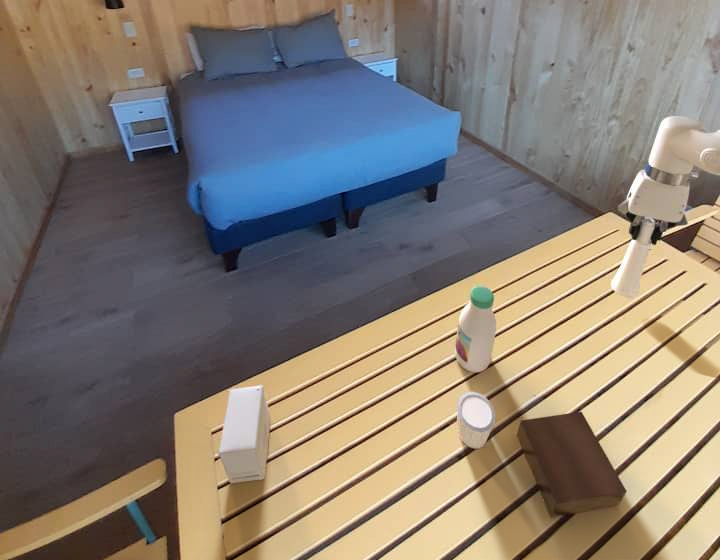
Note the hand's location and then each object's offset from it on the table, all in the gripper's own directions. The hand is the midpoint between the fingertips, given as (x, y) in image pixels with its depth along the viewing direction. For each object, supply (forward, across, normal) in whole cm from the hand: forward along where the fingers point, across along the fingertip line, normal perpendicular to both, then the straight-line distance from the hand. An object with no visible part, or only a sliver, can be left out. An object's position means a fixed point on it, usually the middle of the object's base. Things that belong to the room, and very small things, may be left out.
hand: (642, 238), depth 94 cm
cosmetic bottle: (+17, 0, 0) cm, 17 cm away
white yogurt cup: (+20, +29, +47) cm, 58 cm away
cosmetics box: (+20, +66, +66) cm, 96 cm away
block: (+20, +13, +46) cm, 51 cm away
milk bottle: (+20, +32, +32) cm, 49 cm away
